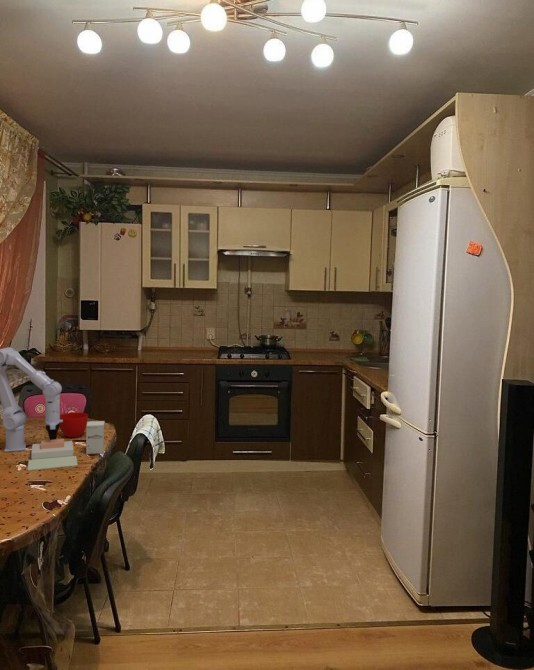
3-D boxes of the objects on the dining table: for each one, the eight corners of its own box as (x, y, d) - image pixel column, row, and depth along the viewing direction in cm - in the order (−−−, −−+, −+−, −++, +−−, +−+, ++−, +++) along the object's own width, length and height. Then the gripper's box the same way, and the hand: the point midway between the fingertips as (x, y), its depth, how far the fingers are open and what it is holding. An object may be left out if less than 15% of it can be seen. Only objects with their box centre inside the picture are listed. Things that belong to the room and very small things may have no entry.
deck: (32, 450, 218) (32, 444, 218) (72, 447, 224) (72, 440, 224) (31, 460, 206) (31, 453, 206) (73, 456, 213) (73, 449, 212)
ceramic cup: (95, 431, 252) (95, 411, 251) (80, 440, 235) (80, 419, 234) (70, 429, 253) (70, 409, 252) (53, 439, 236) (53, 418, 235)
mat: (28, 461, 205) (28, 460, 205) (76, 456, 212) (76, 455, 212) (27, 470, 194) (27, 469, 194) (77, 465, 201) (77, 465, 201)
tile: (41, 445, 217) (41, 440, 217) (64, 443, 221) (64, 438, 220) (41, 449, 212) (41, 444, 211) (64, 447, 215) (64, 442, 215)
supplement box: (85, 454, 216) (85, 425, 215) (87, 449, 223) (87, 421, 222) (104, 453, 218) (104, 424, 217) (104, 448, 225) (104, 420, 224)
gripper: (63, 413, 214) (63, 445, 215) (62, 406, 227) (62, 436, 228) (44, 415, 211) (45, 447, 212) (45, 407, 224) (45, 437, 226)
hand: (52, 441), depth 220 cm, fingers closed
